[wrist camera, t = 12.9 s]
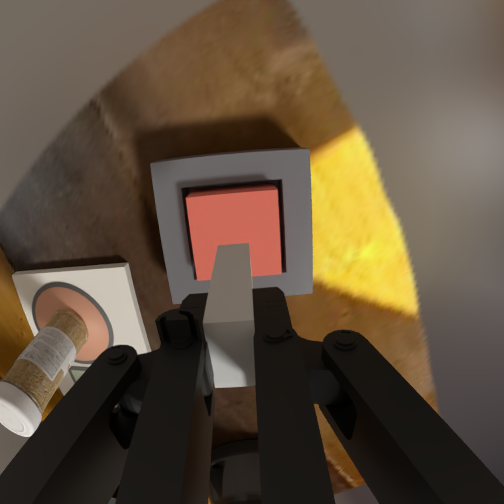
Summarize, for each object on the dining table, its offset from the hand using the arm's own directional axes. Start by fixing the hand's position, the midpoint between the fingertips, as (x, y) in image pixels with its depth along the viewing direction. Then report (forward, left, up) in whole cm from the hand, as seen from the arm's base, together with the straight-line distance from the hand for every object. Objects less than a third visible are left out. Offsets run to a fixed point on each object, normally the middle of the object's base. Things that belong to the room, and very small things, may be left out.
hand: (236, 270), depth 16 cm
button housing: (0, 0, -11) cm, 11 cm away
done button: (0, 0, -9) cm, 9 cm away
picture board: (-12, +17, -11) cm, 24 cm away
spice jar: (-9, +18, -10) cm, 23 cm away
